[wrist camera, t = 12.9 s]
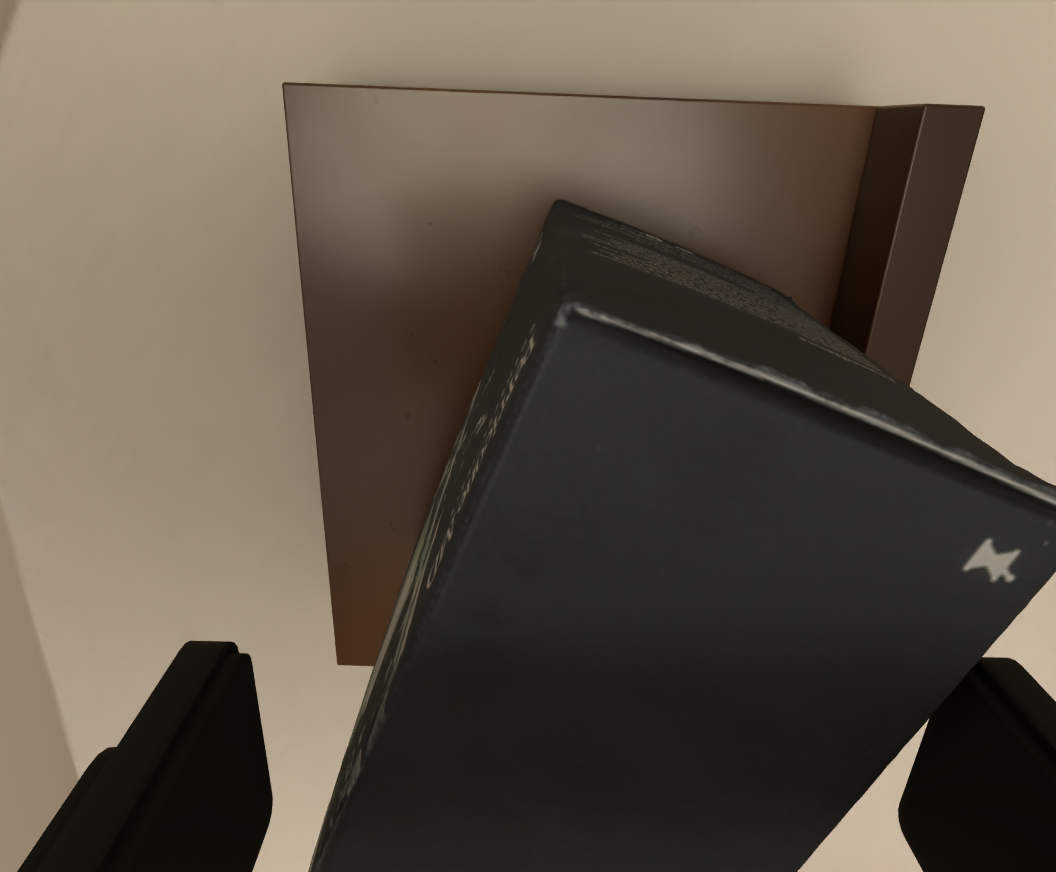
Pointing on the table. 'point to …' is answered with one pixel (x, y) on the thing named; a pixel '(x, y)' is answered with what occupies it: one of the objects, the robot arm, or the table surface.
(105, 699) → the table surface
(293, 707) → the table surface
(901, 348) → the shelf
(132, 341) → the table surface
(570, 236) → the box
